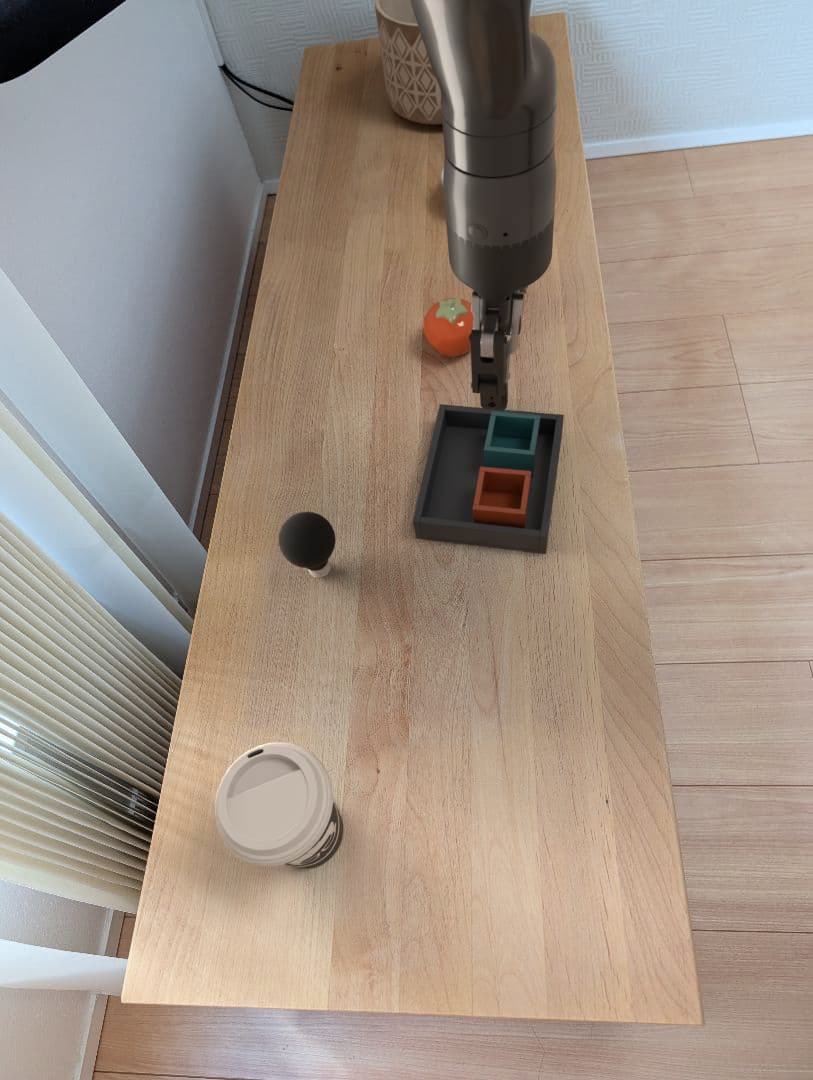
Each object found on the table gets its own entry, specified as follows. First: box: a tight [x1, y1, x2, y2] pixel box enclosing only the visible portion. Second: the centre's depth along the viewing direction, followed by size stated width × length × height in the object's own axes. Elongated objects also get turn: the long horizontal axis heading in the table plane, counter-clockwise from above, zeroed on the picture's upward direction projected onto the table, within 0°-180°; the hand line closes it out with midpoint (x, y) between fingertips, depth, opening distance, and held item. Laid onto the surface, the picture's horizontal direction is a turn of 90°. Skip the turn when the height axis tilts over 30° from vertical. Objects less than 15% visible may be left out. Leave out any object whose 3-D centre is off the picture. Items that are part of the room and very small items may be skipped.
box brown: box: [473, 467, 531, 529], centre depth 86 cm, size 6×6×4 cm
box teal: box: [484, 411, 541, 478], centre depth 90 cm, size 6×6×4 cm
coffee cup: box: [214, 741, 344, 870], centre depth 67 cm, size 10×10×15 cm
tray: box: [412, 403, 565, 555], centre depth 89 cm, size 15×17×4 cm
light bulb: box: [278, 511, 336, 579], centre depth 83 cm, size 6×6×10 cm
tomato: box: [422, 297, 474, 358], centre depth 99 cm, size 7×7×8 cm
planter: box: [373, 0, 443, 126], centre depth 123 cm, size 19×19×16 cm
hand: (501, 368), depth 68 cm, fingers open, 8 cm apart
